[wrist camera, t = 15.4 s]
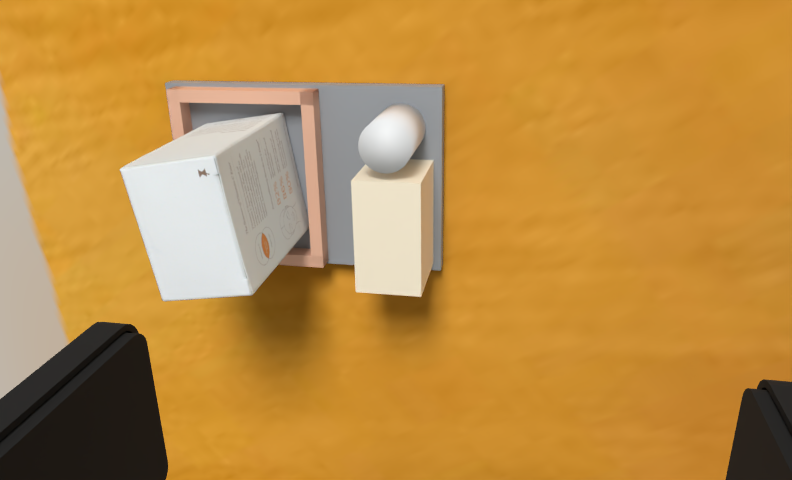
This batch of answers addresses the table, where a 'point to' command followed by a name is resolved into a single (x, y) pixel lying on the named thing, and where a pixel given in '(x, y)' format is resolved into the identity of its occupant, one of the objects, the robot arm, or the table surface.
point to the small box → (218, 207)
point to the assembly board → (349, 169)
